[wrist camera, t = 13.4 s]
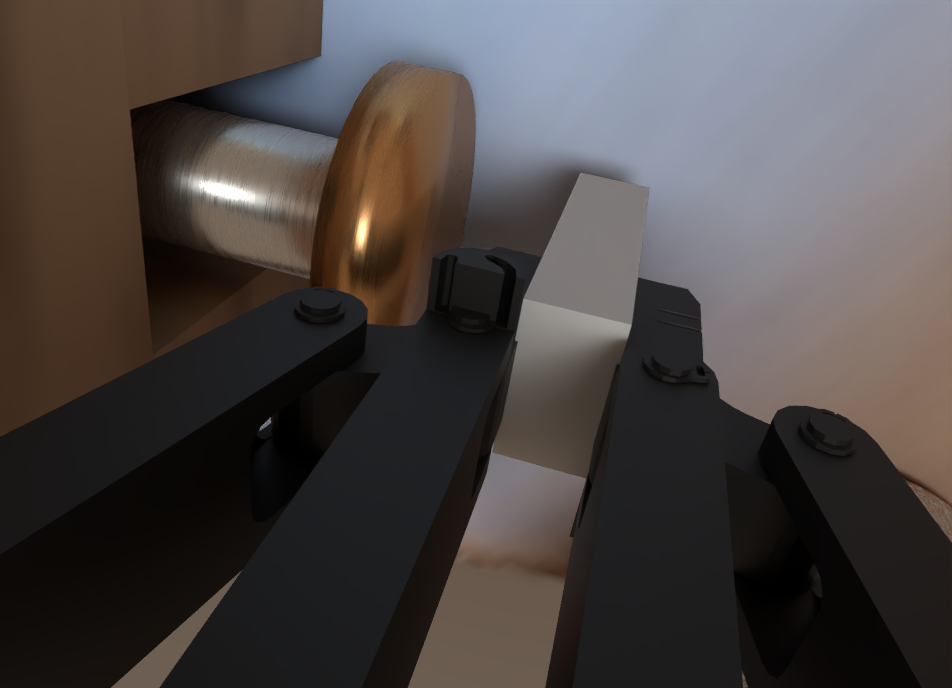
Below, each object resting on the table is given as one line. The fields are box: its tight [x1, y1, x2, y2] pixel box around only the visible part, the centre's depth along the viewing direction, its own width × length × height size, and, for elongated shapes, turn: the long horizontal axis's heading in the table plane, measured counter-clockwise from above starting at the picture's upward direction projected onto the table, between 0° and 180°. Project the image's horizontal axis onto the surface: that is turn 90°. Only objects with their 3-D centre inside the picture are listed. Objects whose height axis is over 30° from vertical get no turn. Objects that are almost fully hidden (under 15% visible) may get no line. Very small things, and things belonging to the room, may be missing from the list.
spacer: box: [0, 0, 323, 437], centre depth 14 cm, size 5×9×12 cm, turn 171°
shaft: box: [130, 61, 476, 326], centre depth 16 cm, size 14×6×6 cm, turn 81°
